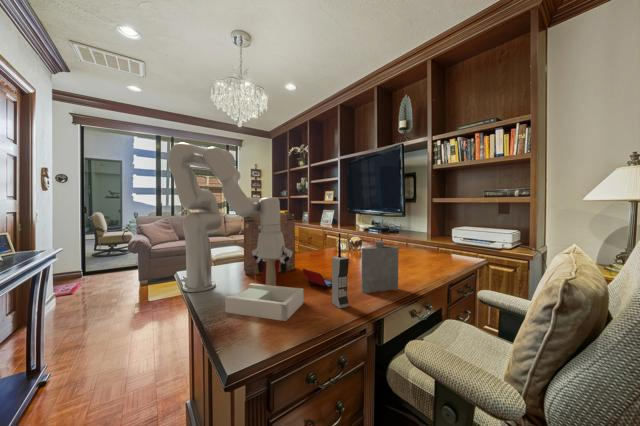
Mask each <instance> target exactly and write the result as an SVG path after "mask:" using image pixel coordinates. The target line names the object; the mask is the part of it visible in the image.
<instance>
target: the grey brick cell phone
mask: <svg viewBox="0 0 640 426" xmlns="http://www.w3.org/2000/svg"><path fill="white" fill-rule="evenodd" d="M337 248H338V249H337V250H338V252H337V253H338V254H337V255H335V256H332V258H331V261H332V262H331V269H332V271H331V272H332V273H331V277H332V279H331V280H332V288H331V290H332V291H331V294H332V295H331V297H332V298H331V300H332V301H331V302H332V304H333V305H334V306H335V307H337V308H339V309H343V308H348V307H349V306H350V302H349V298H348V276H349V275H348V273H349V267H350V258H349V257H346V256H343V255H342V247H341V233H338V247H337Z"/></svg>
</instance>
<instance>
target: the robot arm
mask: <svg viewBox="0 0 640 426" xmlns="http://www.w3.org/2000/svg"><path fill="white" fill-rule="evenodd" d="M235 164H236V159H235V157H234V155H233V153H231V152H230V151H228V150H226V149H223V148H221V147H217V146H210V147H207V148H204V147H201V146H197V145H195V144H192V143H187V142H178V143H176V144H174V145H172V147H171V149H170V150H169V151H168V156H167V165H168V168H169V171H170V173H171V175H172V179H173V181H174V185H175V189H176V193H177V195H178V196H177V197H178V199H179V202H180V205H181V207H182V208H183V209H185V210H187V211H195V212H192V213H189V214H188V215H187V214H186V216H185V217H184V218H183V220H182V229H183V236H184V241H185V242H184V243H185V265H186V267H185V268H186V270H185V271H186V275H183V276H182V277H181V278H180V282H182V283H184V285H182V291H183V292H185V293H198V292H199V293H200V292H205V291H208V290H211V289H213V288H215V287H216V282H215V281H214V280H213V279H212V278H213V277H212V246H211V245H212V243H211V240H210V238H209V235H208V234H213V233H216V232H218V231H219V230H220V229H221V227H222V223H223V222H222V217H221V215H222V214H221V212H220V208H219V204H218V202H217V198H216V196H215V194H214V193H213V192H212V191H211V190H209V189H208V188H203V187H202V188H201V187H200V185H199V181H198V177H197V175H196V174H195V171H193V169H192V167H199V168H204V169H209V171H211V173H212V174H213V176H214V177H215V178H216V179H217V181H218V182H219V183H220V185H221V190H222V194H223V197H224V199H225V201H226V203H227V204H228V205H229V207H230V208H231V209H232V211H233V212H234V213H235V214H236V215H237V216H239V217H241V218H244V217H253V216H260V217H261V226H259V227H258V229H260V230H261V233H259V236H258V245H257V248H256V249H254V250H253V251H252V254H253V256H254V258H255V259H256V262H258V270H259V273H261V272H263V271H264V261H263V258H268V259H279V260H280V261H281V262H282V263H281V272H280V274H281V275H284V274H285V273H286V272H287V271H286V270H287V264H286V262H287V261H288V260H289V259H290V258H291V255H292V253H293V252H292V251H290V250H289V249H287V248H285V245H284V239H283V234H282V232H281V229H280V213H281V208H280V205H281V204H280V199H279V197H262V198H260V197H259V198H258V197H249V196H247V195H246V194H245V192H244V191H243V190H242V188H241V187H240V184H239V180H240V178H241V173H240V171H239V170H238V168H237V167H236V166H235ZM191 166H192V167H191ZM196 211H197V212H196ZM285 252H286V253H287V257H285V256H284V255H285Z"/></svg>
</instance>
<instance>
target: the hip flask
mask: <svg viewBox="0 0 640 426" xmlns="http://www.w3.org/2000/svg"><path fill="white" fill-rule="evenodd" d="M374 244H375V246H369V247H361V272H360V275H361V276H360V277H361V281H360V282H361V285H360V287H361V289H360V290H361V293H363V294H371V293H377V291H379V292H387V290H396V291H398V290H399V253H400V252H399V250H400V249H399V246H398V245H396V246H395V245H393V246H392V245H384V244H385V241H384V240H375V241H374Z"/></svg>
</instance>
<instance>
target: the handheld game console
mask: <svg viewBox="0 0 640 426" xmlns="http://www.w3.org/2000/svg"><path fill="white" fill-rule="evenodd" d="M302 271H303V274H304V275H305V277H306V279H307V280H308V284H310V285H314V286H316V287H318V288H320V289H324V290H330V289H331V290H332V281H331V280H328V279H325V278H323V276H322V275H323V274H321V273H319V272H316V271H314V270H310V269H307V268H302Z"/></svg>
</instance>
